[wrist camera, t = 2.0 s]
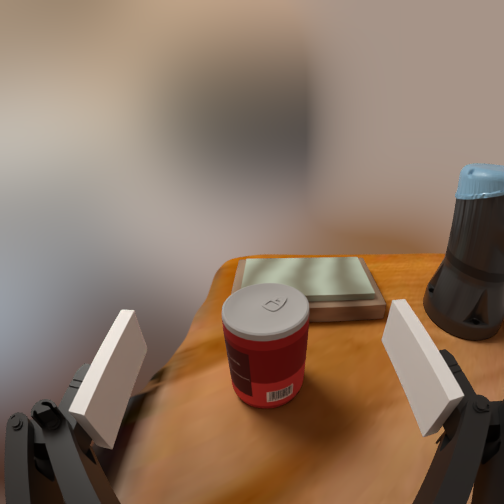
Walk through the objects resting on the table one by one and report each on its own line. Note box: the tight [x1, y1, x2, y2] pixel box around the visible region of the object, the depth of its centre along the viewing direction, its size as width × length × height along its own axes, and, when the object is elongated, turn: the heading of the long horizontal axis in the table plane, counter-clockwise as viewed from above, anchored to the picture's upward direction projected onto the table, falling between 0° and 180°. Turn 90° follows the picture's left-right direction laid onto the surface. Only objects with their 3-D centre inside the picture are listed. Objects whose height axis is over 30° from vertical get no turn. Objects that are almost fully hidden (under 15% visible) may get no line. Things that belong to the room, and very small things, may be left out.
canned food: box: [222, 283, 309, 408], centre depth 28 cm, size 8×8×11 cm
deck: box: [231, 257, 386, 322], centre depth 45 cm, size 22×14×4 cm, turn 86°
